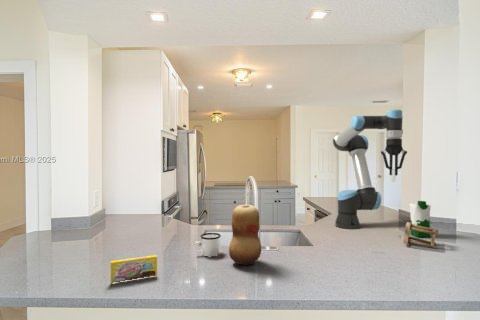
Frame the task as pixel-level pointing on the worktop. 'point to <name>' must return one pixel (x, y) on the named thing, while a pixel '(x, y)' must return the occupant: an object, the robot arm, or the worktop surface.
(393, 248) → the worktop surface
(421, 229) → the stool
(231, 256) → the butternut squash
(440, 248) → the mat
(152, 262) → the candy box
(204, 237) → the mug
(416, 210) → the milk carton
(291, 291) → the worktop surface
